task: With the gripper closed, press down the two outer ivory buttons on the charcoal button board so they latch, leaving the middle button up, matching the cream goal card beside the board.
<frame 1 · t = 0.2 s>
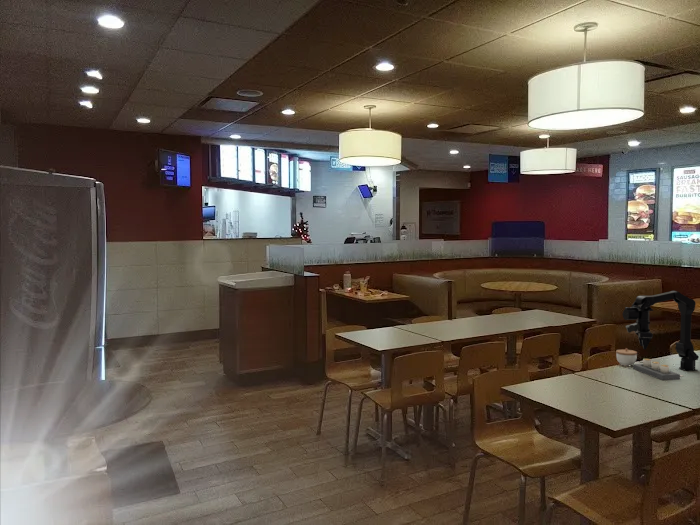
hand: (643, 347, 302), 13 cm above the table, fingers open, 9 cm apart
lidded jar: (626, 365, 319), on the table
goal card: (669, 373, 299), on the table
button a: (647, 363, 305), point 4 cm above the table, slide at 0.0 cm
board: (655, 373, 298), on the table
button c: (664, 369, 291), point 4 cm above the table, slide at 0.0 cm
button b: (655, 366, 298), point 4 cm above the table, slide at 0.0 cm
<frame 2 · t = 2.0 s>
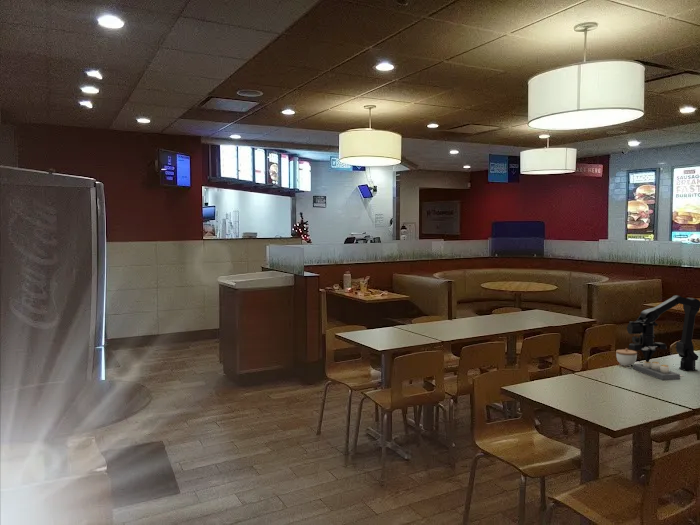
hand: (647, 361, 305), 5 cm above the table, fingers closed, pressing on button a
button a: (647, 365, 305), point 3 cm above the table, slide at 1.4 cm, touching gripper
everything else where it was.
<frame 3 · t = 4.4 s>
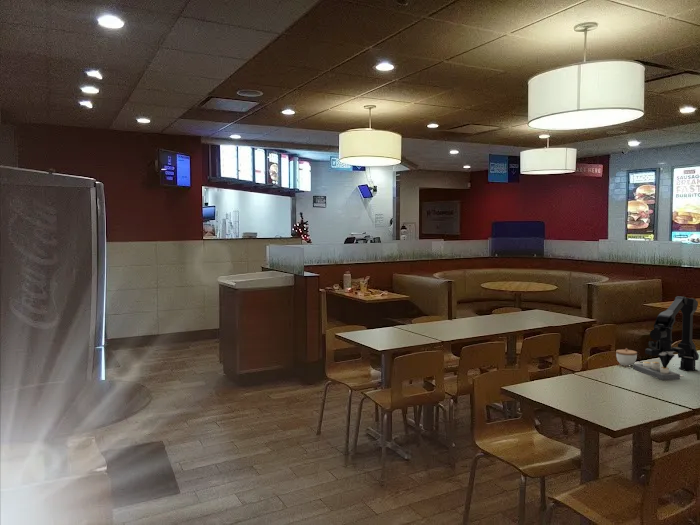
hand: (664, 367, 291), 5 cm above the table, fingers closed, pressing on button c
button a: (647, 366, 305), point 2 cm above the table, slide at 1.6 cm
button c: (664, 371, 291), point 3 cm above the table, slide at 1.2 cm, touching gripper
everything else where it was.
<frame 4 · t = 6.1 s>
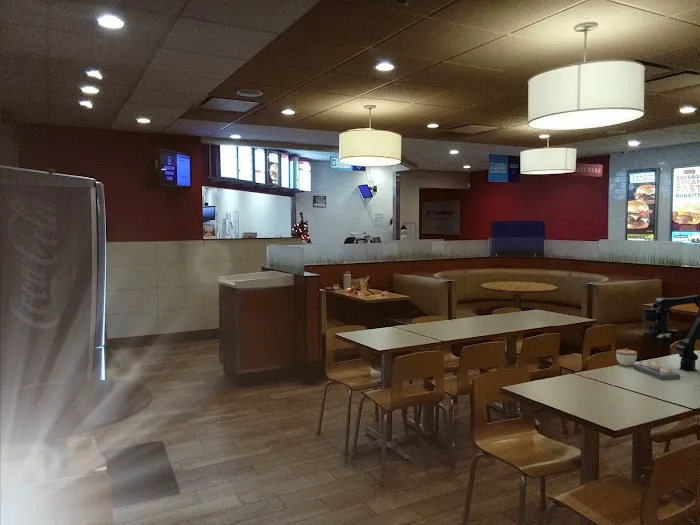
hand: (662, 349, 305), 12 cm above the table, fingers closed
button c: (664, 372, 291), point 2 cm above the table, slide at 1.6 cm
everything else where it was.
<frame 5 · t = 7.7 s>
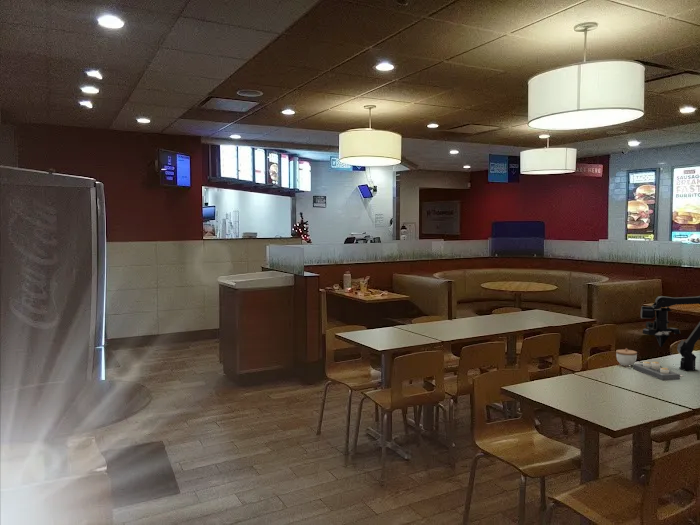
hand: (660, 346, 310), 12 cm above the table, fingers closed
nothing on the table moved.
at the end: button a slide at 1.6 cm; button c slide at 1.6 cm; button b slide at 0.0 cm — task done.
